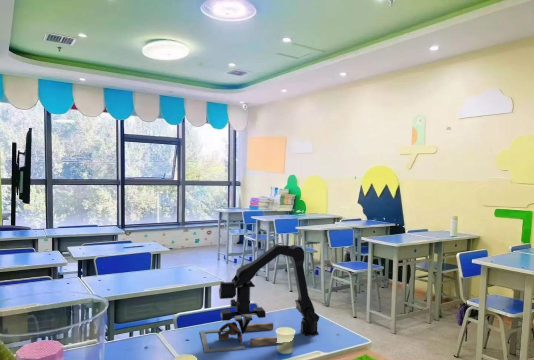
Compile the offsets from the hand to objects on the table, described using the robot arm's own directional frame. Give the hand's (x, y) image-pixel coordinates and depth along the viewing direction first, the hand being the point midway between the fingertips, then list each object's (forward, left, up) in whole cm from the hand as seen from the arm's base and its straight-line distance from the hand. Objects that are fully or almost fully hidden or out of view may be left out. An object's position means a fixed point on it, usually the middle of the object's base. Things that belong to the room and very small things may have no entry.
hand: (242, 333), depth 160 cm
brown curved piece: (+5, +1, -2) cm, 6 cm away
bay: (+8, 0, -2) cm, 8 cm away
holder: (-9, 0, -2) cm, 9 cm away
